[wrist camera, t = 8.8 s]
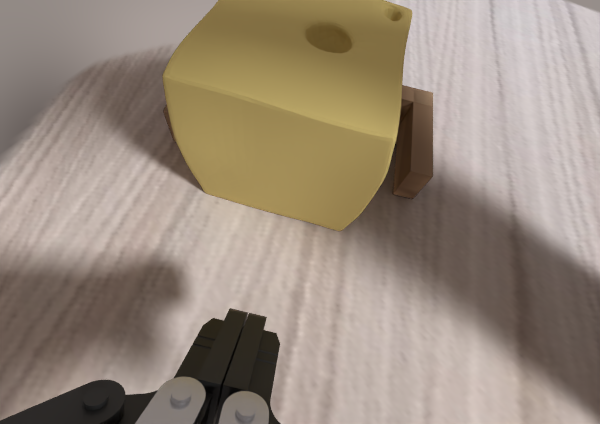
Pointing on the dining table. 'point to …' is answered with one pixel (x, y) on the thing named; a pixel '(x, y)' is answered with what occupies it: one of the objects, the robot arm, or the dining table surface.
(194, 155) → the cheese
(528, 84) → the dining table surface
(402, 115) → the walnut cradle
